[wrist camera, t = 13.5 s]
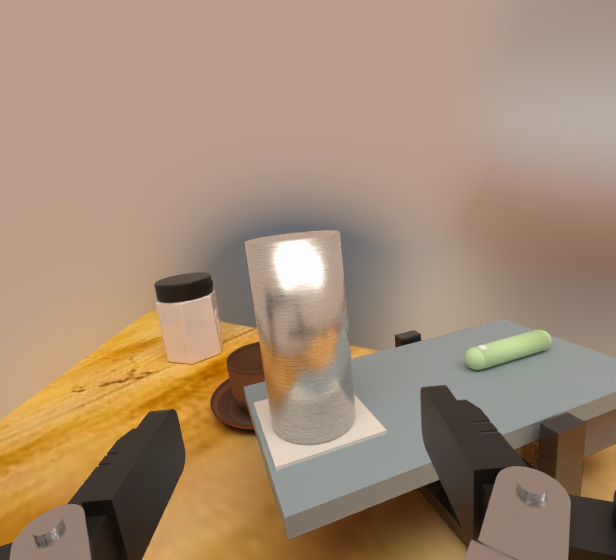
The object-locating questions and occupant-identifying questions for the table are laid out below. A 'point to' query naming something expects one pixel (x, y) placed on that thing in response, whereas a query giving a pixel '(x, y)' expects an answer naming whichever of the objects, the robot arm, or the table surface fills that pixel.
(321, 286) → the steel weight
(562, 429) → the pivot stand
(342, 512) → the platform
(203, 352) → the jar
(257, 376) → the cup and saucer
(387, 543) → the table surface
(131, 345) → the table surface
